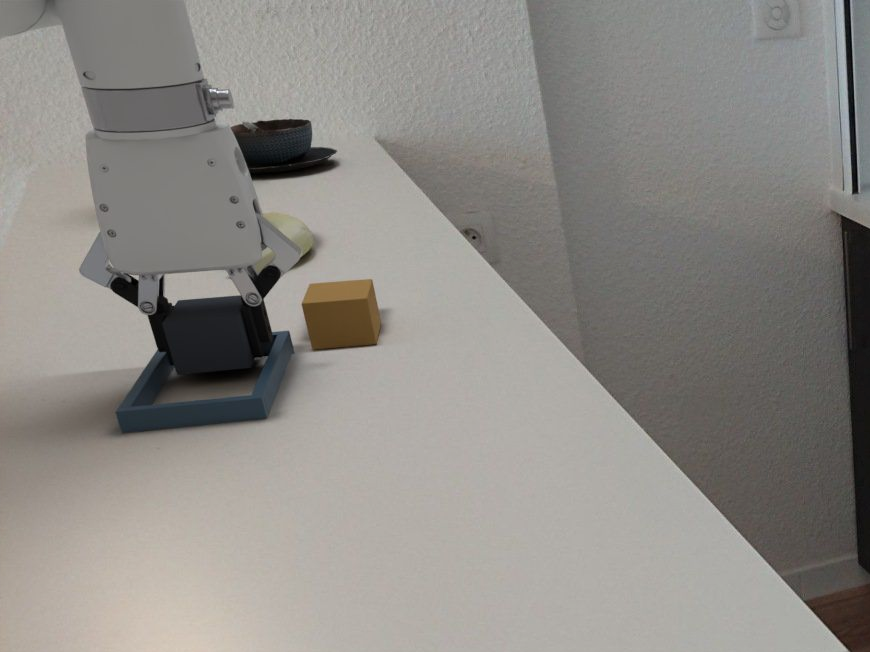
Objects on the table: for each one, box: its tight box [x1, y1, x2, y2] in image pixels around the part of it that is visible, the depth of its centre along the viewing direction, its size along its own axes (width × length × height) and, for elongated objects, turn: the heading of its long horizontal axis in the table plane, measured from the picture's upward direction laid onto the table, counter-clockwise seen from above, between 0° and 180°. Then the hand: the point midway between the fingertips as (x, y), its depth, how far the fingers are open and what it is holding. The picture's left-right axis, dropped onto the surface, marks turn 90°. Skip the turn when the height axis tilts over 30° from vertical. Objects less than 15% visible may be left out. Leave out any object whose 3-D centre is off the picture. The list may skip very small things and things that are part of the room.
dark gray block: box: [162, 294, 256, 376], centre depth 98 cm, size 6×5×4 cm
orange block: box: [301, 278, 382, 351], centre depth 109 cm, size 6×5×4 cm
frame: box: [114, 330, 295, 434], centre depth 96 cm, size 16×9×2 cm, turn 18°
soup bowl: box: [230, 118, 338, 174], centre depth 168 cm, size 15×16×7 cm
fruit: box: [253, 211, 314, 274], centre depth 131 cm, size 7×15×3 cm, turn 18°
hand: (219, 353), depth 98 cm, fingers closed on dark gray block, 4 cm apart
